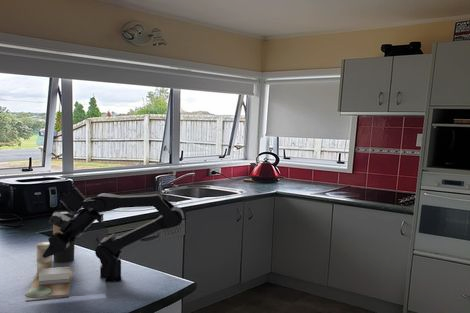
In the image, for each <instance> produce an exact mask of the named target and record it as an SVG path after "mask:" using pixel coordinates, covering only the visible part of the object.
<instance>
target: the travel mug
mask: <svg viewBox="0 0 470 313" xmlns="http://www.w3.org/2000/svg"><path fill="white" fill-rule="evenodd" d="M55 212H59V213H61V214H64V215H66V216H68V217H69V218H71V219H72V218H73V217H75V212H71V211H70V210H69V209H59V210H55V211H53V213H52V214H54V213H55ZM60 228H61V227H58V226H56V225H53V224H52V235H53V234H54V233H56V232H60V233H61V234H62V232H61V231H60V230H59V229H60ZM75 241H76V240H75ZM75 241H73V242H71V243H69V246H68V247H67V248H66V249H65V250H64V251H63V252H61V253H57V254H54V255H53V263H57V264H67V263H71V262H73V261H74V260H75V245H76V244H75V243H76V242H75Z"/></svg>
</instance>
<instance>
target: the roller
mask: <svg viewBox="0 0 470 313" xmlns="http://www.w3.org/2000/svg"><path fill="white" fill-rule="evenodd" d="M49 245H50V244H49V241H43V242H38V243H37V244H36V273H37V277H38V278H39V273H40V270H41V269H43V268H53V255H52V256H49V257H46V258H44V257H43V254H44V253H45V251H46V250H47V248H48V246H49Z"/></svg>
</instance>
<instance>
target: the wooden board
mask: <svg viewBox="0 0 470 313" xmlns="http://www.w3.org/2000/svg"><path fill="white" fill-rule="evenodd" d="M73 274H74V269H70V280H69V283H64V284H52V285H41V286H39V278H38V277H37V272H36V273H35V275H34V277H33V280H32V282H31V285H30V287H29V289H28V290H26V291H25V296H26V297H25V299H28V300H25V303H29V302H31V303H32V302H42V301H50V300H52V301H53V300H63V299H70V296H66V295H70V289H71V284H72V279H73ZM53 296H54V297H53ZM57 296H58V297H57ZM44 297H46V298H44ZM33 298H36V299H33Z"/></svg>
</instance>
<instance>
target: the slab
mask: <svg viewBox="0 0 470 313" xmlns="http://www.w3.org/2000/svg"><path fill="white" fill-rule="evenodd" d="M70 270H71V266H59V267H52V268H43V269H41V270H40V273H39V286H41V285H52V284H64V283H69V280H70Z"/></svg>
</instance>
